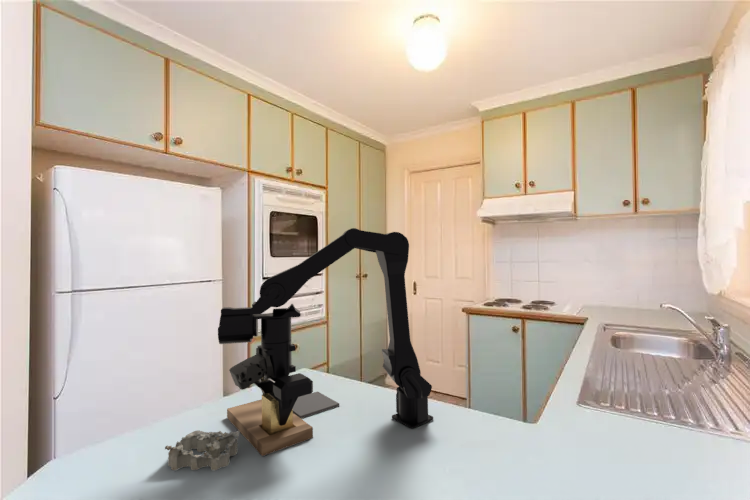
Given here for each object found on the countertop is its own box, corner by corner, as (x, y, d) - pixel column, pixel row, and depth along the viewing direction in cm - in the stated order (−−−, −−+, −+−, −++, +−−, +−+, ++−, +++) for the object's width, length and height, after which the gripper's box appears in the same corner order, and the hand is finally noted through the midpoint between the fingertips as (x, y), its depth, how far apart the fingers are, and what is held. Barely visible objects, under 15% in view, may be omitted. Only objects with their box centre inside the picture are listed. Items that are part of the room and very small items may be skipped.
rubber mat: (339, 406, 84) (339, 403, 84) (300, 418, 78) (300, 415, 78) (317, 393, 92) (317, 391, 92) (280, 404, 86) (280, 401, 86)
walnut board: (312, 437, 70) (312, 427, 70) (262, 456, 63) (262, 444, 63) (271, 405, 85) (270, 396, 85) (227, 417, 79) (227, 408, 79)
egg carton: (160, 472, 60) (160, 447, 60) (188, 447, 67) (187, 425, 67) (222, 474, 59) (222, 448, 59) (243, 449, 66) (243, 426, 66)
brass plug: (292, 437, 70) (292, 395, 70) (271, 444, 67) (270, 401, 67) (283, 428, 74) (282, 389, 74) (262, 435, 71) (261, 394, 71)
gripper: (219, 338, 73) (220, 416, 73) (252, 358, 58) (253, 455, 58) (272, 330, 80) (273, 402, 80) (313, 346, 65) (315, 433, 65)
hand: (277, 420), depth 70 cm, fingers closed on brass plug, 4 cm apart
